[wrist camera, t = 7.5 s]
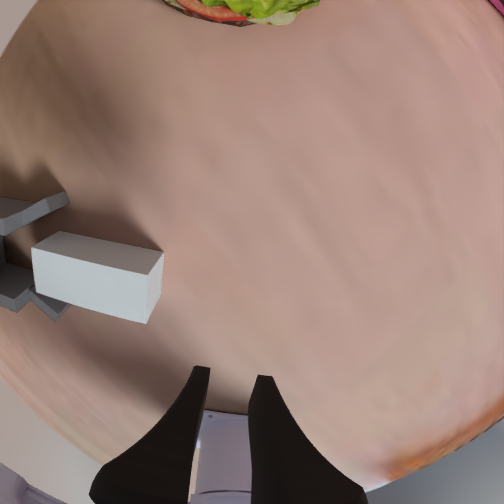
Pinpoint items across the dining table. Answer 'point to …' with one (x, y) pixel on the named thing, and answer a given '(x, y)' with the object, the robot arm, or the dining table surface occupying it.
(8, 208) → the endcap
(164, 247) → the dining table surface
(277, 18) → the food
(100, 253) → the white rectangular block
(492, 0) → the pencil case
